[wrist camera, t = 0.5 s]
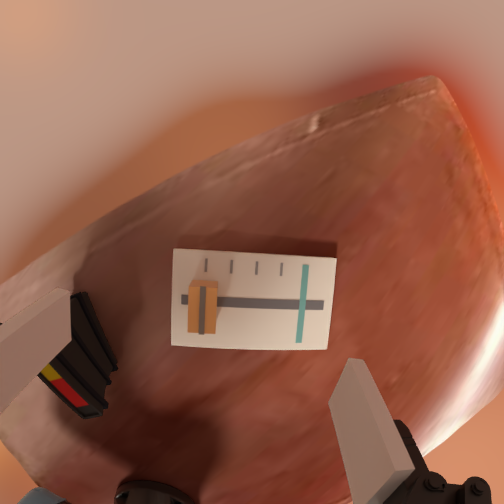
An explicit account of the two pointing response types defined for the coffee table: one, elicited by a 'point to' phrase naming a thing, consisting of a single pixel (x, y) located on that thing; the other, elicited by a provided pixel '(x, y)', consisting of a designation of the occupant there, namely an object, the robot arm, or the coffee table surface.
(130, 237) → the coffee table surface
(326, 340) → the fader console
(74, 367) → the magazine
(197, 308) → the fader tab
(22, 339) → the robot arm
